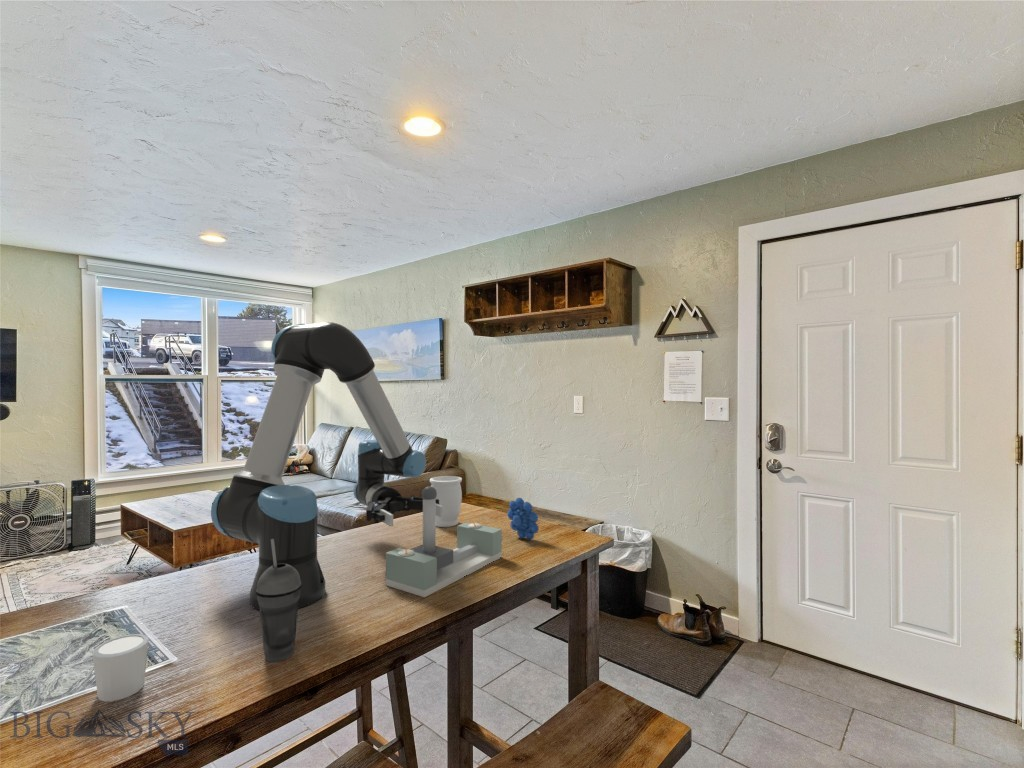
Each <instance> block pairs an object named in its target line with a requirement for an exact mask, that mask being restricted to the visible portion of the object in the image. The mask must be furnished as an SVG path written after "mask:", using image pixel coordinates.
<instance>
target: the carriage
mask: <svg viewBox="0 0 1024 768" xmlns="http://www.w3.org/2000/svg"><path fill="white" fill-rule="evenodd" d="M436 496H437V491H436V489H435V488H434V487H431V485H430V486H426V487H424V488H423V489H422V490H421V497H422V498H423V510H422V543H421V544H420V545H418V546H415V547H413V548H410V549H409V550H413V551H414V552H416V553H420V554H424V555H428V556H432V557H436V558H437V570H439V569H441V568H443V567H445V566H447V565H449V564H452V563H453V549H449V548H446V547H442V546H437V543H436V542H437V541H436V539H437V537H436V534H437V533H436V528H437V526H436Z"/></svg>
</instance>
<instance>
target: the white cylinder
mask: <svg viewBox="0 0 1024 768" xmlns="http://www.w3.org/2000/svg"><path fill="white" fill-rule="evenodd" d="M149 640H150V638H149V637H148V635H146V634H142V633H141V634H140V633H137V634H135V633H133V634H126V635H121V636H118V637H115V638H111V639H108V640H106V641H104V642H102V643H100V644H99V645H97V646H96V647H94V649H93V651H92V661H93V669H94V677H95V684H96V692H97V698H98V700H99V701H102V702H116V701H120V700H123V699H126V698H129V697H131V696H133V695H134V694H137V693H139V691H140V690H142V689H143V687H144V685H145V680H146V679H145V678H146V669H147V663H148V662H147V660H148V651H149V643H150V642H149Z"/></svg>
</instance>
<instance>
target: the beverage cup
mask: <svg viewBox="0 0 1024 768" xmlns="http://www.w3.org/2000/svg"><path fill="white" fill-rule="evenodd" d="M271 546H272V555H273V563H274V565H273V566H271V567H269V568H268V569H266V570H265V571H264V572H263V574H262V575H261V577H260V578H259V581H258V584H257V589H256V594H257V600H258V604H259V607H260V610H259V618H260V624H261V625H260V626H261V635H262V647H263V654H264V659H265V661H267V662H269V663H279V662H282V661H285V660H288V659H290V658H291V656H293V655H294V649H295V644H296V643H295V642H296V635H297V634H296V631H297V622H298V611H299V608H298V600H299V597H300V592H301V587H302V584H301V580H300V575H299V573H298V572H297V570H296V569H295V568H294V567H292V566H291V565H288V564H284V563H280V564H277V561H276V553H275V545H274V539H271Z"/></svg>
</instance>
